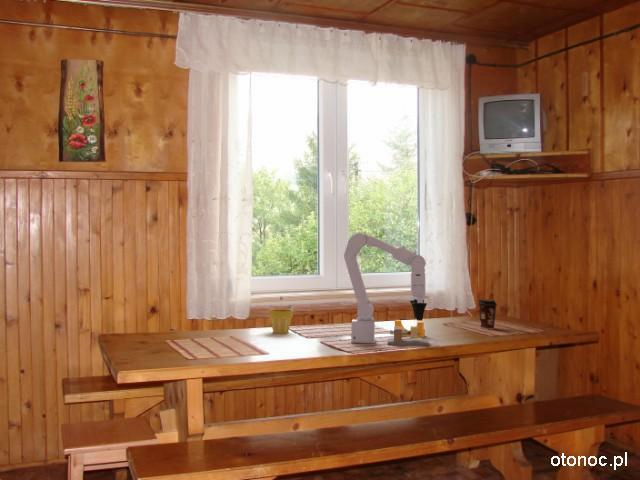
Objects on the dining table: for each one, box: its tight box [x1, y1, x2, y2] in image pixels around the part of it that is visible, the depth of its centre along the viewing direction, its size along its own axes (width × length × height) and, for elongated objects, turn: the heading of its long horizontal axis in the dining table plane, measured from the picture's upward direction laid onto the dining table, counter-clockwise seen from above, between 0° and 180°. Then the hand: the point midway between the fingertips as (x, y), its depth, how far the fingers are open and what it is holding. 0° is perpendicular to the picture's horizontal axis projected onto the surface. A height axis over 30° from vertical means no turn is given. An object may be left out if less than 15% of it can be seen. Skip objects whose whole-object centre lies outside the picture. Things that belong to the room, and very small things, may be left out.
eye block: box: [386, 325, 430, 347], centre depth 272 cm, size 16×8×6 cm, turn 83°
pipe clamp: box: [394, 319, 426, 339], centre depth 291 cm, size 12×4×6 cm, turn 63°
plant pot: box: [268, 308, 294, 334], centre depth 298 cm, size 10×10×10 cm
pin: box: [389, 325, 419, 339], centre depth 272 cm, size 11×3×4 cm, turn 83°
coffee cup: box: [478, 298, 498, 330], centre depth 313 cm, size 9×8×13 cm
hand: (418, 319), depth 273 cm, fingers open, 7 cm apart
